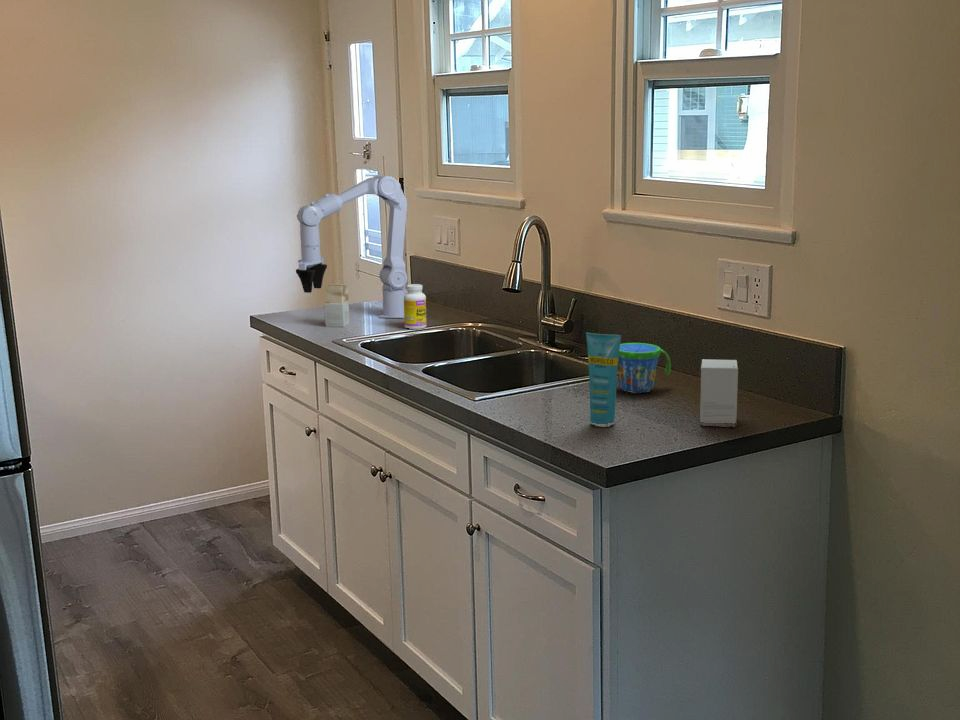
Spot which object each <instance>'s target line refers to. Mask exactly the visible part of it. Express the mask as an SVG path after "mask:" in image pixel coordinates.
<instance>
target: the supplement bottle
mask: <svg viewBox="0 0 960 720" xmlns="http://www.w3.org/2000/svg"><path fill="white" fill-rule="evenodd" d="M406 290H407V291H408V292H407V294H405V295H404V318H403V319H404V320H403V321H404V323H403V324H404V328H406V329H407V328H409V329H408V330H422V329H425V328H427V325H428V323H427V296H426V295H425V293H424V292H423V284H419V283H413V284H412V283H411V284H406Z"/></svg>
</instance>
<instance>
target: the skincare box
mask: <svg viewBox="0 0 960 720" xmlns="http://www.w3.org/2000/svg"><path fill="white" fill-rule="evenodd" d="M349 302H350V301H349V300H348V301H346V302H344V303H327V302H325V303H323V306H324V307H323V309H324V319H325V320H324V321H325V327H326V328H345V327H347V326H348V325H350V324H351V320H350V318H351V317H350V305H349V304H350V303H349ZM347 324H348V325H347ZM346 325H347V326H346Z"/></svg>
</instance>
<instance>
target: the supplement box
mask: <svg viewBox="0 0 960 720" xmlns="http://www.w3.org/2000/svg"><path fill="white" fill-rule="evenodd" d="M738 367H739V366H738V361H737V359H710V358H709V359H705V358H704V359H703V358H702V359H701V364H700V403H699V404H700V405H699V406H700V407H699V409H700V410H699V411H700V412H699V415H700V416H699V417H700V418H699V422H704V423H733V424H734V423H736V424H737V418H738V417H737V414H738V413H737V412H738V383H739V368H738Z"/></svg>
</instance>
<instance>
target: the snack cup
mask: <svg viewBox="0 0 960 720" xmlns="http://www.w3.org/2000/svg"><path fill="white" fill-rule="evenodd" d="M662 353H663V355H664V356H665V358H666V364H665V371H664V373H665V375H666V376H669V375H670V373H671V369H672V368H671V367H672V364H671V358H670V356H669V354H668V353H667V352H666V351H665V350H664V349H662V348H661V347H660V346H658V345H656V344H651V343H645V342H625V343H620V349H619V358H618V370H617V379H618V385H619V389H620V388H621V389H623V390H626V391H633V392H643V391H648V390H651V389H652V390H653V388H654V384H655V378H656V374H657V373H656V372H657V367H658V362H659V359H660V356H661V354H662ZM652 390H651V391H652ZM643 393H644V392H643Z"/></svg>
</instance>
